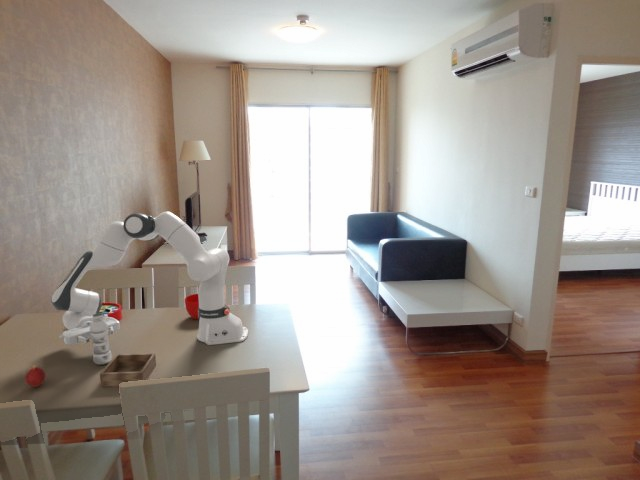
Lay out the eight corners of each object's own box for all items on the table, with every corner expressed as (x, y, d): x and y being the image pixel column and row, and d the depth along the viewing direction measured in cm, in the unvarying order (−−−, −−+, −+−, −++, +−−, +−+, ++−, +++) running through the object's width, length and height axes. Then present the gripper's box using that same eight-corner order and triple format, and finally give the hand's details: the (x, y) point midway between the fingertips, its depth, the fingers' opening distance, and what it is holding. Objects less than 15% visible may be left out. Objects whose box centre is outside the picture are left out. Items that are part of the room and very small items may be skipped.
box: (156, 365, 165) (155, 353, 164) (143, 385, 151) (142, 372, 150) (117, 366, 164) (116, 354, 163) (101, 386, 150) (99, 374, 148)
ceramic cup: (222, 311, 219) (221, 293, 217) (200, 323, 204) (199, 304, 202) (202, 307, 224) (201, 289, 222) (180, 319, 209) (178, 300, 207)
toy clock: (99, 300, 219) (130, 305, 212) (100, 311, 220) (131, 316, 214) (65, 314, 201) (97, 320, 194) (66, 325, 202) (98, 331, 195)
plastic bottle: (105, 367, 163) (99, 318, 158) (89, 366, 164) (83, 317, 160) (116, 359, 169) (111, 312, 165) (101, 358, 170) (95, 311, 166)
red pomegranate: (33, 382, 152) (30, 362, 151) (50, 381, 153) (47, 361, 151) (23, 391, 147) (20, 370, 145) (41, 390, 147) (37, 369, 145)
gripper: (56, 328, 165) (69, 338, 156) (110, 313, 180) (125, 321, 171) (58, 343, 166) (72, 353, 157) (111, 326, 181) (126, 335, 172)
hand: (100, 336), depth 164 cm, fingers open, 8 cm apart
